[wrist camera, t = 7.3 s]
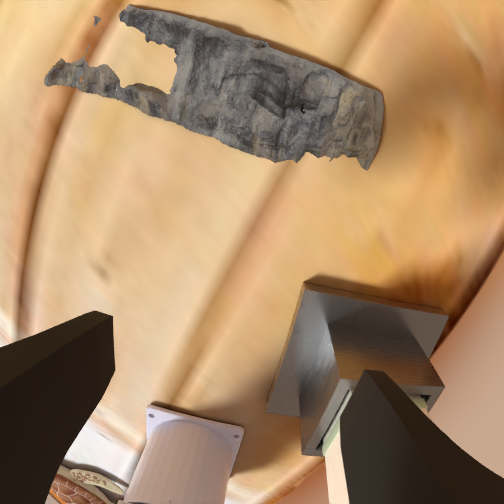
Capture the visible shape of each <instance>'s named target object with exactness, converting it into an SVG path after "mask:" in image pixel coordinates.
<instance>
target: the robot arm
mask: <svg viewBox="0 0 504 504" xmlns="http://www.w3.org/2000/svg"><path fill="white" fill-rule="evenodd" d="M114 372H115V358H114V337H113V316H111V315H108V314H104V313H101V312H98V311H92V312H89V313H86V314H84V315H81V316H79V317H76V318H74V319H71V320H69V321H67V322H64V323H62V324H60V325H57V326H55V327H52V328H50V329H48V330H45V331H43V332H41V333H38V334H36V335H33V336H30V337H28V338H25V339H22V340H20V341H17V342H14V343H11V344H9V345H6V346H3V347H0V504H45V501H46V499H47V496H48V493H49V491H50V488H51V486H52V483H53V481H54V478H55V476H56V474H57V472H58V469H59V467H60V465H61V463H62V461H63V459H64V457H65V455H66V453H67V451H68V450H69V448H70V446H71V445H72V443H73V442H74V440H75V439H76V437H77V435H78V434H79V432H80V431H81V429H82V428H83V426H84V425H85V423H86V422H87V420H88V419H89V417H90V416H91V414H92V412H93V411H94V409H95V408H96V406H97V405H98V403H99V402H100V400H101V399H102V397H103V395H104V393H105V391H106V389H107V387H108V385H109V383H110V381H111V378H112V376H113V374H114ZM146 427H147V444H146V446H145V449H144V451H143V453H142V456H141V458H140V461H139V463H138V466H137V468H136V470H135V473H134V475H133V478H132V480H131V483H130V485H129V488H128V490H127V493H126V495H125V498H124V500H123V501H122V500H118V503H117V504H224V502H225V496H226V490H227V483H228V481H229V478H230V475H231V472H232V469H233V466H234V463H235V460H236V456H237V453H238V450H239V447H240V444H241V441H242V438H243V434H244V429H243V428H242V427H240V426H236V425H230V424H225V423H221V422H216V421H211V420H207V419H203V418H199V417H194V416H190V415H186V414H183V413H179V412H175V411H171V410H168V409H164V408H161V407H157V406H154V405H148V406H147V408H146ZM340 447H341V454H342V460H343V466H344V473H345V479H346V485H347V492H348V498H349V504H504V478H502V477H500V476H499V475H497V474H495V473H494V472H492V471H491V470H489V469H488V468H486V467H485V466H483V465H482V464H481V463H479V462H478V461H477V460H475V459H474V458H473V457H471V456H470V455H469V454H467V453H466V452H465V451H464V450H462V449H461V448H460V447H459V446H458V445H456V444H455V443H454V442H453V441H452V440H451V439H450V438H449V437H448V436H447V435H446V434H445V433H444V432H442V431H441V430H440V429H439V428H438V427H437V426H436V425H435V424H434V423H433V422H432V421H431V420H430V419H429V418H428V417H427V416H426V415H425V414H424V413H423V411H422V410H421V409H420V408H419V407H418V406H417V405H416V404H415V403H414V402H413V401H412V400H411V399H410V398H409V397H408V396H407V395H406V393H405V392H404V391H403V390H402V389H401V388H400V387H399V386H398V385H397V384H396V383H395V382H394V381H393V380H392V379H391V378H390V377H389V376H388V375H387V374H386V373H385V372H383V371H377V370H368V369H364V371H363V373H362V375H361V377H360V379H359V381H358V383H357V385H356V387H355V389H354V391H353V393H352V395H351V397H350V399H349V401H348V403H347V405H346V407H345V409H344V410H343V412H342V414H341V416H340Z"/></svg>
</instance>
